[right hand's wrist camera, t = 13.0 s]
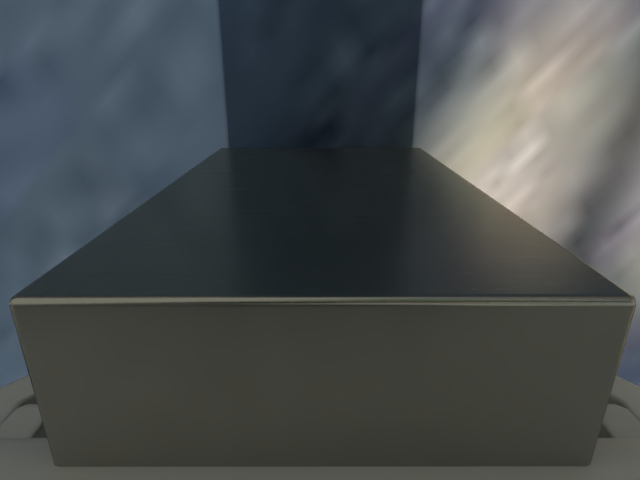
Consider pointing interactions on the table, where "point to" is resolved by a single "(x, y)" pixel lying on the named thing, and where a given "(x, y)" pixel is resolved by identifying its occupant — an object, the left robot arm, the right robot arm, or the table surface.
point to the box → (322, 324)
